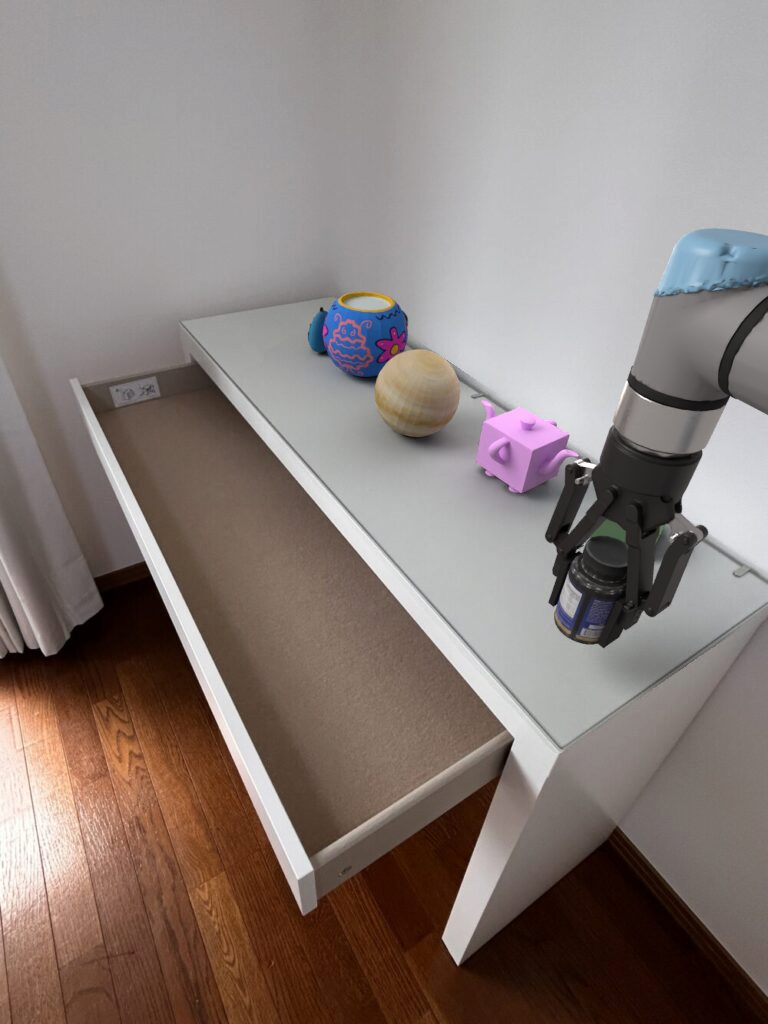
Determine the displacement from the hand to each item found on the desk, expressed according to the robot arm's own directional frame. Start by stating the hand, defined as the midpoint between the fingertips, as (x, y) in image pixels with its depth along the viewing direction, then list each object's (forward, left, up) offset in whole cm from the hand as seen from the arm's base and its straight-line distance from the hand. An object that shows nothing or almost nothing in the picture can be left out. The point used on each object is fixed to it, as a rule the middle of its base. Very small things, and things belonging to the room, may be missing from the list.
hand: (582, 619), depth 62 cm
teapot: (+30, -22, -8) cm, 38 cm away
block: (+10, -26, -7) cm, 29 cm away
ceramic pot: (+75, -22, -8) cm, 78 cm away
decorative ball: (+50, -16, -8) cm, 53 cm away
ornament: (+88, -19, -8) cm, 90 cm away
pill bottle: (0, 0, -1) cm, 1 cm away
